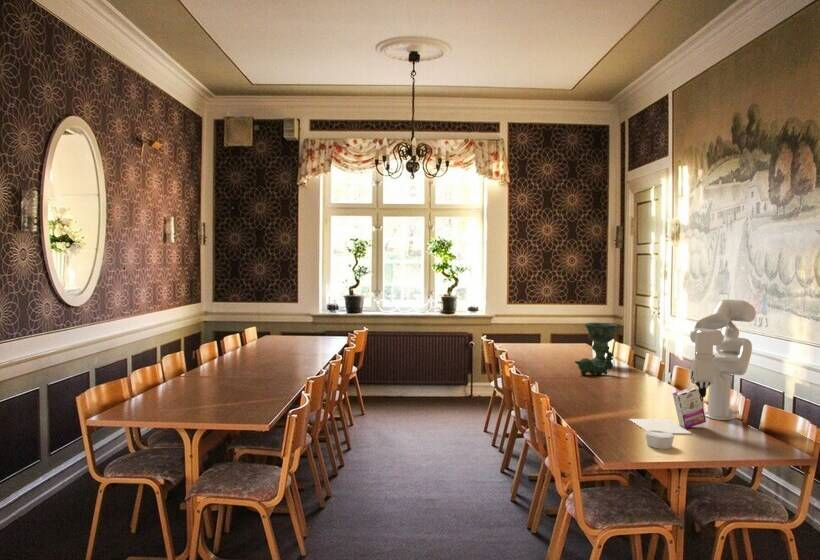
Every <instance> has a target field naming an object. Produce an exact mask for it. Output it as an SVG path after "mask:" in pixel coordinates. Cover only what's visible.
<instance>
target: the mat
mask: <svg viewBox="0 0 820 560" xmlns="http://www.w3.org/2000/svg"><path fill="white" fill-rule="evenodd" d="M629 420H630V421H629ZM628 421H629V422H631V421H632V422H633V423H632V422H631V423H632V424H634V423H635V424H636V425H635V424H634V425H635V426H637V425H638V426H639V428H640V427H641V428H642V430H643V429H644V430H645V431H644V430H643V431H644V432H646V431H651V430H656V431H664V432H668V433H671V434H673V435H693V433H692V432H691V431H689V430H687V428H686V429H685V428H683V427H681V426H680V425H678V424H677V423H675V422H673V421H672V420H670V419H668V418H629V419H628ZM638 426H637V427H638ZM641 428H640V429H641Z"/></svg>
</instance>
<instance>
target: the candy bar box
mask: <svg viewBox="0 0 820 560" xmlns="http://www.w3.org/2000/svg"><path fill="white" fill-rule="evenodd" d="M672 396H673V402H674V406H675V411H676V415H677V421H678V424H679V426H680V427H682V428H684V429H686V430H687V429H689V428H693V427H696V426H698V425H701V424H705V423H706V422H707V419H706V416H705V411H704V410H705V409H704V405H703V402H702V397H701V396H700V391H699V388H698V387H694V386H691V387H688V388H684V389H682V390H678V391H675V392H672Z"/></svg>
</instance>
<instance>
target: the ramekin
mask: <svg viewBox="0 0 820 560" xmlns="http://www.w3.org/2000/svg"><path fill="white" fill-rule="evenodd" d="M645 439H646V444H647V446H648V445H649V446H648V447H650V448H652V447H653V448H652V449H656V448H658V449H657V450H669V449H671V448H672V446H673V442H674V439H675V434H671V433H668V432H664V431H656V430H651V431H645Z"/></svg>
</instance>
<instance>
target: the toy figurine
mask: <svg viewBox="0 0 820 560" xmlns="http://www.w3.org/2000/svg"><path fill="white" fill-rule="evenodd" d="M609 350H610V349H609ZM609 350H608V349H605V348H604V349H602V350H601V351H600V352H602V351H604V352H605V354H606V356H605V358H606V360H605V363H604V364H603V365H602V366H600V365H596V364H594V363H593V362H592V361H591V359H590V358H587V357H585V358H582V359H580V360H575V361H574V363H575V364H576V365H578V369H579V370H580V374H581V376H585V375H586V374H587V373H589V374H591V375H592V376H596V375H598V376H600V377H601V376H602V375H603V374H604V375H607V374H608V370H612V368H613V367H610V365H611V364H613V362H612V360H613V359H614V358H613V356H614V353H613V352H611V351H609Z"/></svg>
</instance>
